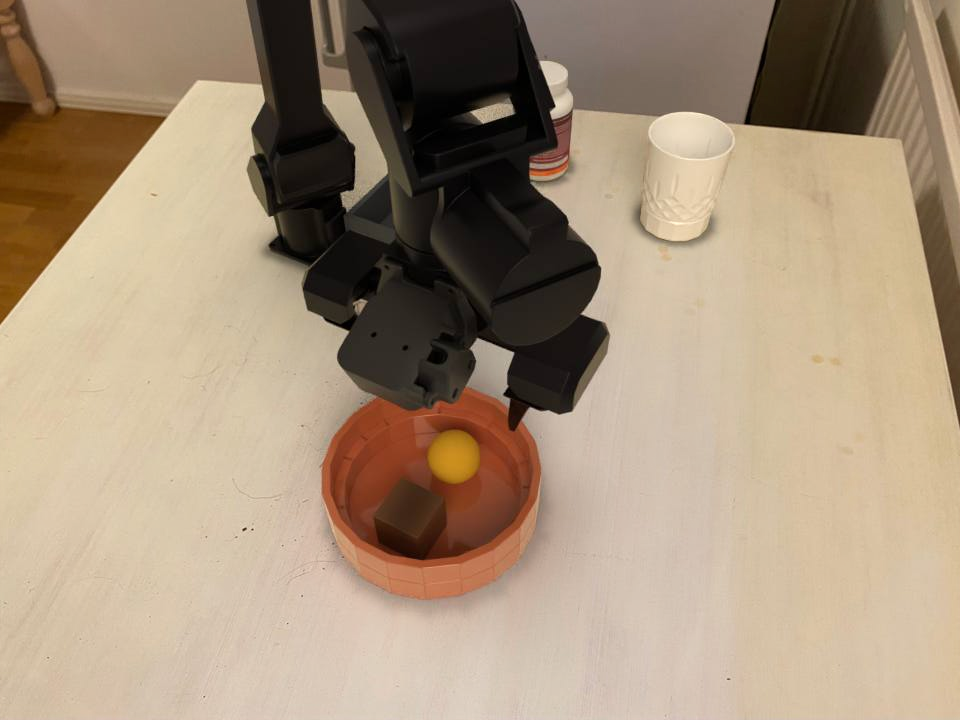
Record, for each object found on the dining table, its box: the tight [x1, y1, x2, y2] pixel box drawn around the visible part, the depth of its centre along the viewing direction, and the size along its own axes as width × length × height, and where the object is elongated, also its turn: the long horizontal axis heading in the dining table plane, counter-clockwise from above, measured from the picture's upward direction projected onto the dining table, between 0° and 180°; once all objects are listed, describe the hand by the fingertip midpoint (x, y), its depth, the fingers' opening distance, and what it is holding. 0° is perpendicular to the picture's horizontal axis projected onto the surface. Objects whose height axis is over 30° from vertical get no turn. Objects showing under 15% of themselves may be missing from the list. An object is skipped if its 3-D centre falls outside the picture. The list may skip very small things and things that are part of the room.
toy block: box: [373, 477, 447, 560], centre depth 57 cm, size 4×4×4 cm
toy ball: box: [427, 430, 481, 484], centre depth 60 cm, size 4×4×4 cm
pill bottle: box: [512, 60, 574, 182], centre depth 84 cm, size 6×6×11 cm
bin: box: [343, 173, 395, 244], centre depth 79 cm, size 12×11×4 cm
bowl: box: [321, 386, 543, 601], centre depth 58 cm, size 15×15×5 cm
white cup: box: [639, 111, 736, 242], centre depth 78 cm, size 8×8×10 cm
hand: (455, 400), depth 56 cm, fingers open, 9 cm apart
